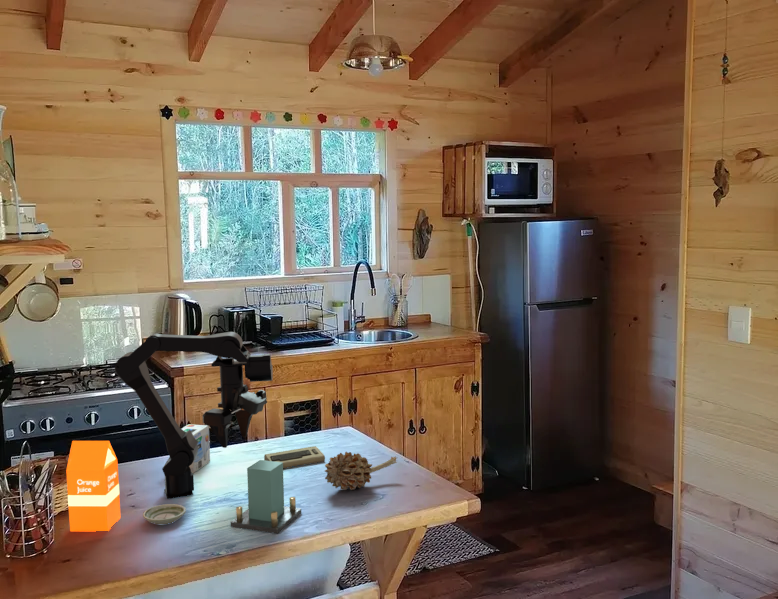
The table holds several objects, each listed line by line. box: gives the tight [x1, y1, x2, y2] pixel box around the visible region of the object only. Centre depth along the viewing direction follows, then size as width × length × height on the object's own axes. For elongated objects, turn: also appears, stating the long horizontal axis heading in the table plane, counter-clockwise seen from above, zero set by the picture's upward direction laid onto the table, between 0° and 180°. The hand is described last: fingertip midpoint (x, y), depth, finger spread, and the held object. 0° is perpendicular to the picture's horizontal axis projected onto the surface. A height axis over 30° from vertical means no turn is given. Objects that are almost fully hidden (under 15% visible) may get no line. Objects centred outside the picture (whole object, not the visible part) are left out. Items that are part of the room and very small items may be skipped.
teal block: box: [246, 459, 285, 521], centre depth 174 cm, size 6×6×12 cm
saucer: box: [142, 503, 187, 525], centre depth 175 cm, size 10×10×2 cm
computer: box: [263, 446, 326, 469], centre depth 215 cm, size 16×8×3 cm, turn 117°
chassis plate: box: [230, 496, 302, 535], centre depth 174 cm, size 12×12×4 cm
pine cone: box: [324, 451, 398, 491], centre depth 195 cm, size 22×10×10 cm, turn 129°
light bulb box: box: [181, 424, 211, 474], centre depth 212 cm, size 11×7×11 cm, turn 169°
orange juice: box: [65, 440, 122, 533], centre depth 172 cm, size 8×9×20 cm
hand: (234, 442), depth 191 cm, fingers open, 9 cm apart
